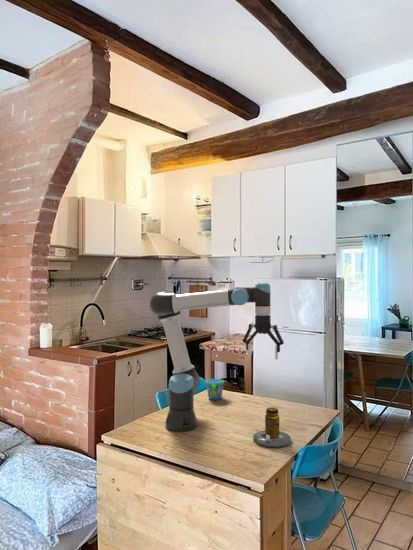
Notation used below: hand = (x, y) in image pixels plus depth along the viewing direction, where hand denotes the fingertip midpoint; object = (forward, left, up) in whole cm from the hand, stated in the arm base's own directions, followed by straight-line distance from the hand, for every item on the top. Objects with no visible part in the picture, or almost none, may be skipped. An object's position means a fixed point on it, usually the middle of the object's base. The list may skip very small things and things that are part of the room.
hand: (262, 357), depth 208 cm
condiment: (+9, -23, -29) cm, 38 cm away
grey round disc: (+10, -23, -31) cm, 40 cm away
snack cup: (-35, +24, -31) cm, 52 cm away
